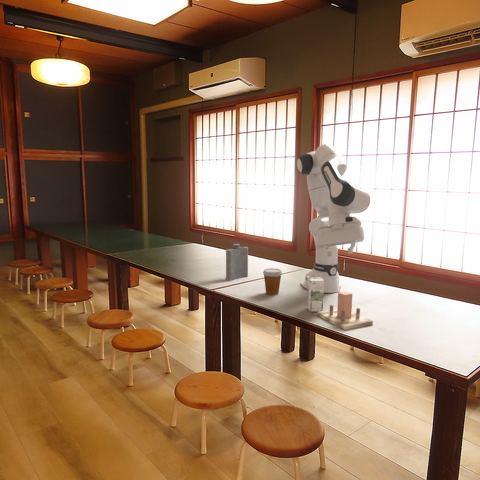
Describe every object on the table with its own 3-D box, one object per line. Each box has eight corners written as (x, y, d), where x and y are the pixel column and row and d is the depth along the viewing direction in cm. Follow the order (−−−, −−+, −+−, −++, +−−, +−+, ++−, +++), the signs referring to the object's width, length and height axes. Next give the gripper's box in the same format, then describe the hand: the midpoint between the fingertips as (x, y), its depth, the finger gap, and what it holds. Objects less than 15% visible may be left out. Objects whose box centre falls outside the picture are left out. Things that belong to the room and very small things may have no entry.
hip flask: (228, 281, 228) (228, 246, 225) (223, 279, 231) (223, 245, 228) (249, 276, 239) (249, 243, 235) (244, 275, 242) (244, 242, 238)
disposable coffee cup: (267, 289, 211) (267, 267, 209) (284, 292, 207) (284, 269, 205) (259, 294, 203) (260, 271, 201) (277, 297, 199) (278, 273, 197)
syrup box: (319, 307, 183) (321, 276, 181) (323, 312, 177) (324, 280, 175) (307, 308, 183) (308, 276, 181) (310, 312, 177) (310, 280, 175)
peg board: (317, 315, 174) (317, 303, 173) (343, 310, 179) (344, 298, 178) (344, 330, 157) (345, 316, 157) (372, 324, 163) (373, 311, 162)
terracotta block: (337, 315, 169) (338, 292, 167) (344, 314, 171) (345, 291, 169) (343, 318, 165) (344, 294, 164) (351, 317, 167) (352, 293, 166)
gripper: (313, 225, 177) (313, 255, 172) (358, 216, 164) (359, 249, 160) (320, 229, 181) (320, 259, 177) (364, 221, 169) (366, 253, 165)
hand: (339, 254), depth 168 cm, fingers open, 8 cm apart
